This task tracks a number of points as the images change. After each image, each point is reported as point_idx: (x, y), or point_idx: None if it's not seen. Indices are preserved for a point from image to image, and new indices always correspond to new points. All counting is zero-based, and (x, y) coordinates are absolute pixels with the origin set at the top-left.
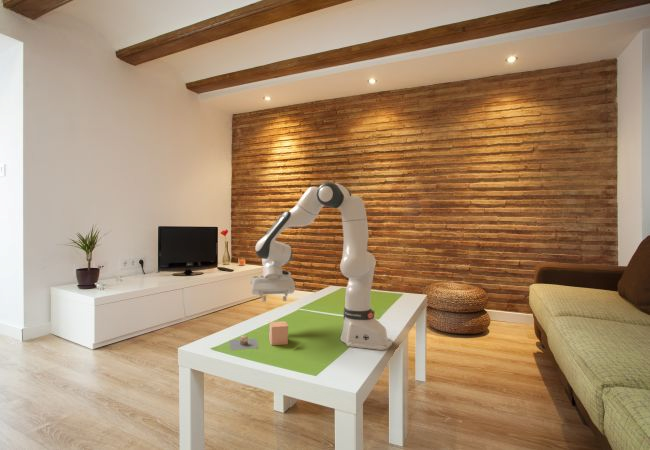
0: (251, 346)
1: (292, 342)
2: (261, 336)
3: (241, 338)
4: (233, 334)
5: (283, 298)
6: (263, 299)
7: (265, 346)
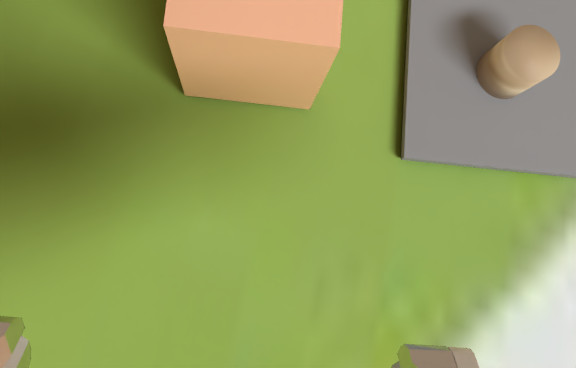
0: (455, 12)
1: (143, 31)
2: (346, 234)
3: (549, 37)
4: (554, 347)
5: (5, 330)
6: (462, 359)
7: (354, 19)
